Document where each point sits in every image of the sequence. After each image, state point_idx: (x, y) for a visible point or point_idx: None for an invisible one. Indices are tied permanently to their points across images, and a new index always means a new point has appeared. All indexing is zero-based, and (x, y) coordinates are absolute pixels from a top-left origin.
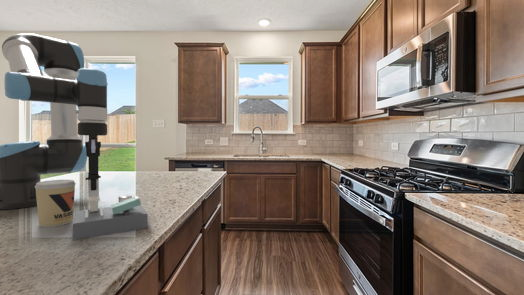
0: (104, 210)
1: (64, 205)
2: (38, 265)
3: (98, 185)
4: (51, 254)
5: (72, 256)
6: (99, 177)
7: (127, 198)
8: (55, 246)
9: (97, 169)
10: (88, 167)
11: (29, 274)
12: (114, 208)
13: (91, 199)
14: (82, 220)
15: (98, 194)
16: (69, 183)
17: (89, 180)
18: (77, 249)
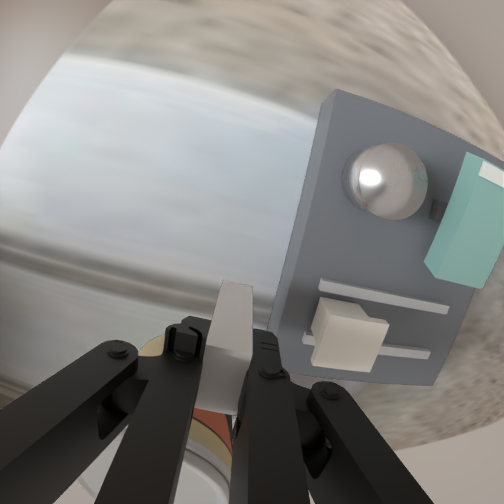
0: (352, 274)
1: None
2: (477, 403)
3: (251, 328)
4: (454, 392)
5: (492, 361)
6: (202, 341)
7: (425, 184)
8: (420, 390)
9: (379, 444)
10: (99, 452)
11: (491, 407)
12: (484, 278)
13: (374, 357)
14: (426, 362)
15: (250, 301)
16: (209, 468)
17: (237, 404)
18: (473, 353)
